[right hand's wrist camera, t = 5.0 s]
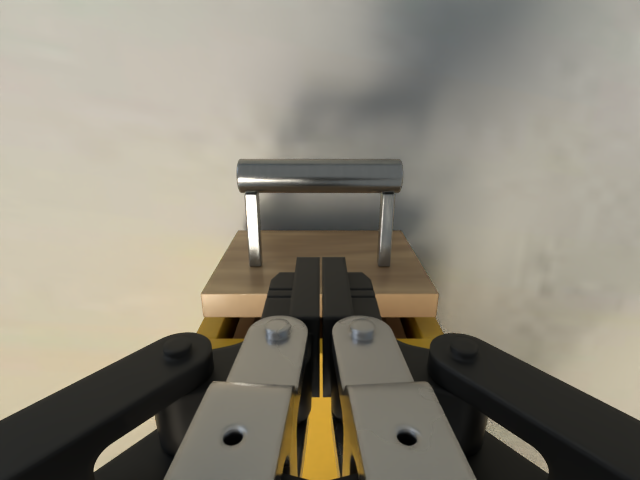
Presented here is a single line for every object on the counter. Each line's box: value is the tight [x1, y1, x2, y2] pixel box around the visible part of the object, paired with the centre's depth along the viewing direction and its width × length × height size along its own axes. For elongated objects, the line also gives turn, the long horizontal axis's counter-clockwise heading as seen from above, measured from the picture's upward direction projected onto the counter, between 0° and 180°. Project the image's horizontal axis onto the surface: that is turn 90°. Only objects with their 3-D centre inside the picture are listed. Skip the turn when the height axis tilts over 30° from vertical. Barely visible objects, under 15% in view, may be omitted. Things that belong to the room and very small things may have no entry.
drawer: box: [201, 159, 439, 339], centre depth 23 cm, size 23×10×8 cm, turn 0°
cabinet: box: [197, 317, 443, 480], centre depth 25 cm, size 19×12×10 cm, turn 0°
